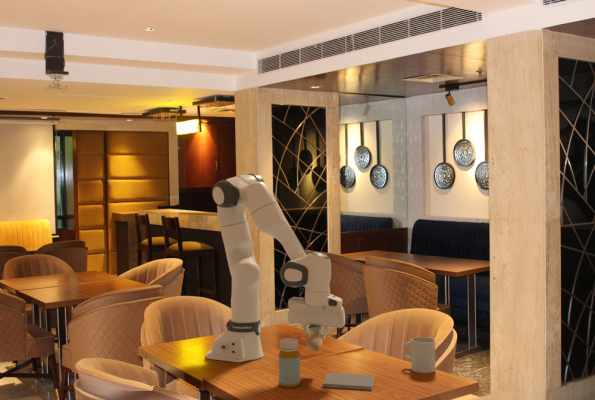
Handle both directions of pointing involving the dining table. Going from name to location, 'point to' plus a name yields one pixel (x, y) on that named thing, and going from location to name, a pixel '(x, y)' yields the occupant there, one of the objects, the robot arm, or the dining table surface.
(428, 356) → the mug
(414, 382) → the dining table surface
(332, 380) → the board
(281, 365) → the bottle
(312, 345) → the block
